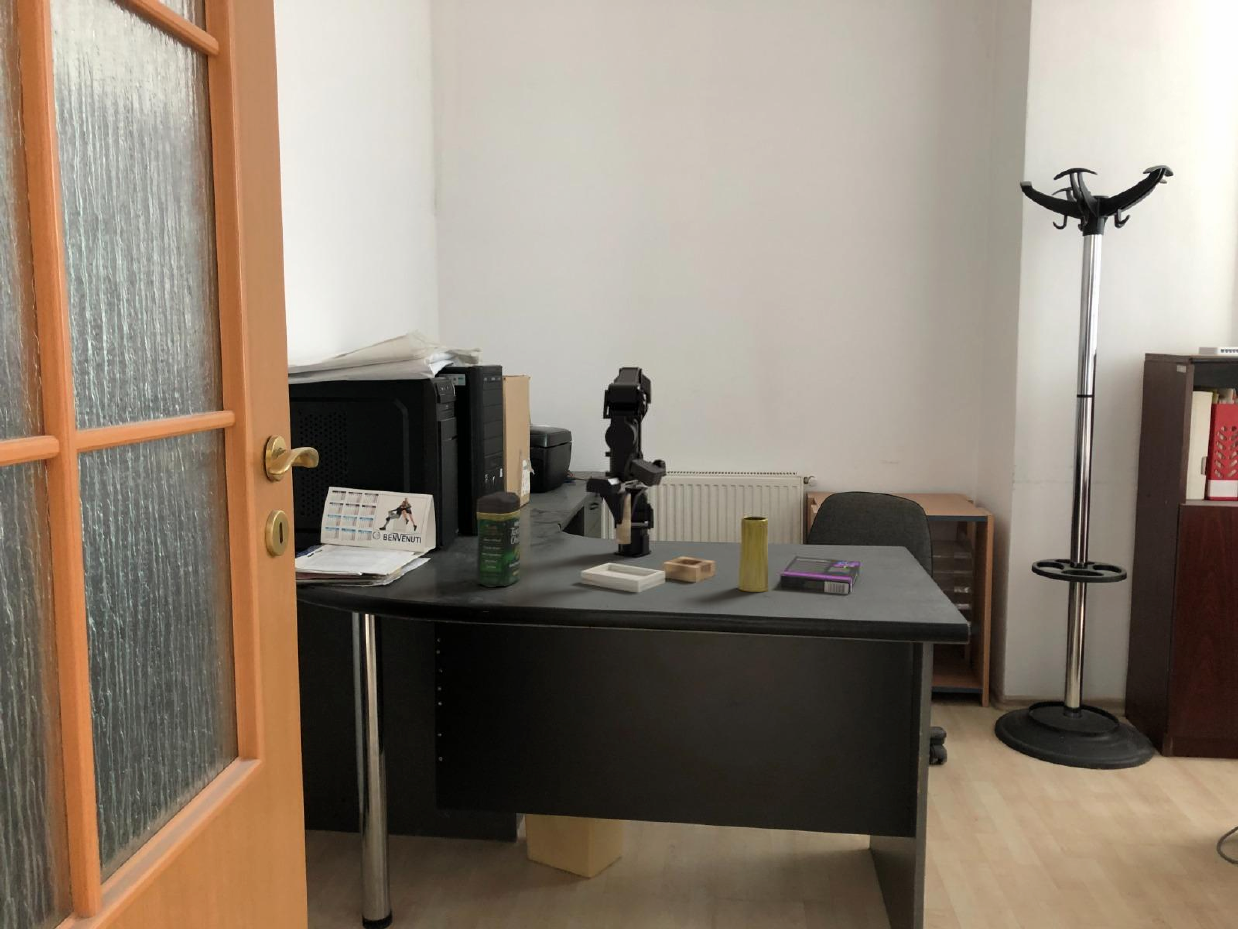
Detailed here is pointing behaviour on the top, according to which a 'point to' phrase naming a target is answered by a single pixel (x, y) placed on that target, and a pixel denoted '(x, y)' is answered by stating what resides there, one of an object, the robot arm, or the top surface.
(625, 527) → the dowel
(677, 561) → the holder
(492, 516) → the coffee jar
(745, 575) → the vase
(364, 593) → the top surface
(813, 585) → the box
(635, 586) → the tray
